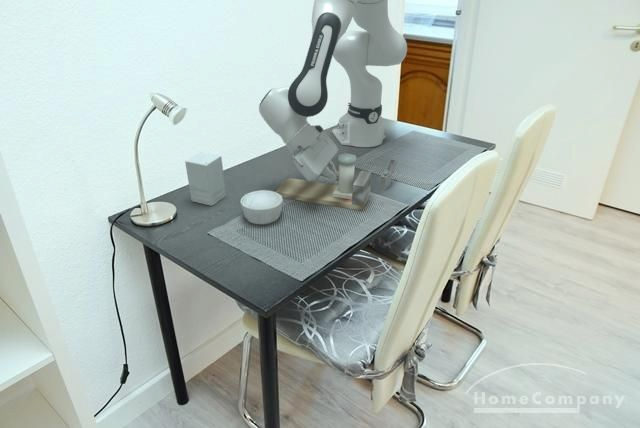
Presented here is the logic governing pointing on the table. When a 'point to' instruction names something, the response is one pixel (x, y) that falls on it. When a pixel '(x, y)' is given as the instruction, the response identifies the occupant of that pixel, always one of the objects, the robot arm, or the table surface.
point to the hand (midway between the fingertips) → (336, 177)
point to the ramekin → (262, 206)
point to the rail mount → (328, 192)
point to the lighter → (388, 175)
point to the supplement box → (206, 178)
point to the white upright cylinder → (345, 176)
